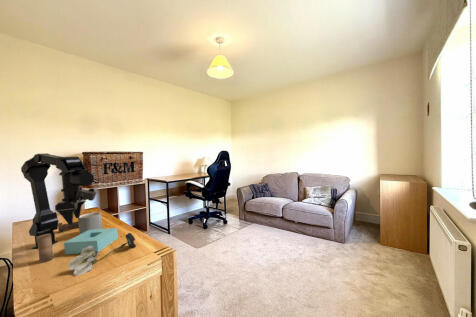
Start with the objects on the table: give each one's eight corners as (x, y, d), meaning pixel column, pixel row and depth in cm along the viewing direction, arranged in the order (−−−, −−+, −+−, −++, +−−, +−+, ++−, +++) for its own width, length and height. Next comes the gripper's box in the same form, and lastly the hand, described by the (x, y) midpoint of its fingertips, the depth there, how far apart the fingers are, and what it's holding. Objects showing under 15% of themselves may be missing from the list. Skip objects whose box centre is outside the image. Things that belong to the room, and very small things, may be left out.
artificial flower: (140, 251, 86) (139, 231, 83) (76, 288, 68) (72, 264, 65) (129, 241, 91) (128, 222, 88) (67, 273, 73) (62, 251, 70)
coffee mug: (105, 232, 108) (103, 213, 108) (82, 238, 101) (80, 219, 101) (97, 227, 117) (95, 210, 117) (75, 233, 109) (74, 215, 109)
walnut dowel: (36, 263, 79) (34, 238, 79) (46, 257, 83) (44, 233, 83) (46, 262, 79) (44, 237, 79) (56, 257, 83) (53, 233, 83)
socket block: (65, 254, 85) (63, 242, 85) (89, 239, 99) (88, 229, 99) (98, 252, 85) (97, 240, 85) (118, 238, 99) (117, 227, 99)
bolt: (91, 227, 123) (59, 235, 112) (89, 222, 126) (58, 229, 115) (92, 220, 121) (59, 227, 110) (90, 214, 124) (58, 221, 113)
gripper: (88, 186, 82) (91, 224, 83) (98, 180, 99) (101, 212, 100) (52, 189, 78) (56, 229, 78) (70, 183, 95) (73, 216, 95)
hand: (74, 221), depth 88 cm, fingers open, 9 cm apart
